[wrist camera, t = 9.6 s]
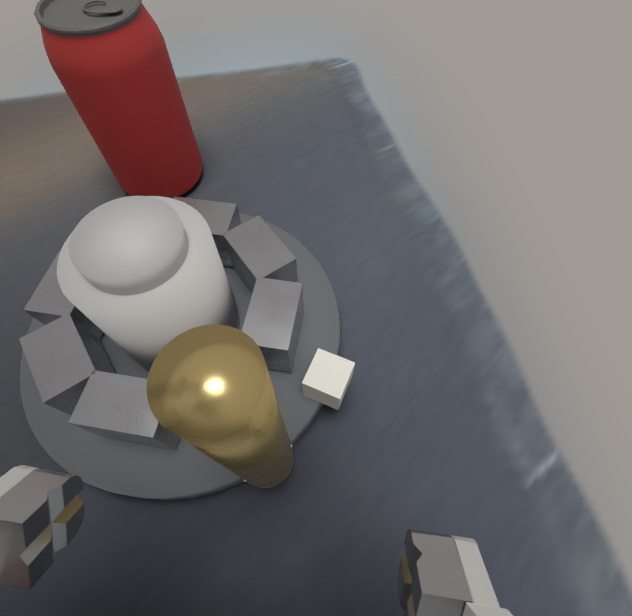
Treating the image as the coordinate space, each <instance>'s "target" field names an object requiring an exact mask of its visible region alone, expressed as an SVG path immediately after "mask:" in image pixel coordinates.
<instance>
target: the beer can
mask: <svg viewBox="0 0 632 616" xmlns="http://www.w3.org/2000/svg"><path fill="white" fill-rule="evenodd" d="M141 1H142V0H40V1H39V2H38V3H37V6H36V9H35V13H34V15H35V17H36V19H37V21H38V23H39V24H40V25H41V32H42V37H43V43H44V47H45V50H46V53H47V56H48V58H49V61H50V63H51V65H52V67H53V69H54V71H55V73H56V75H57V76H58V78H59V80H60V82H61V83H62V85H63V87H64V89H65V90H66V92H67V94H68V96H69V97H70V99H71V101H72V102H73V104H74V106H75V108H76V109H77V111H78V113H79V115H80V116H81V118H82V120H83V122H84V123H85V125H86V127H87V129H88V130H89V132H90V134H91V136H92V137H93V139H94V141H95V142H96V144H97V146H98V148H99V149H100V151H101V153H102V155H103V156H104V158H105V160H106V162H107V163H108V165H109V167H110V169H111V170H112V172H113V174H114V176H115V177H116V179H117V181H118V183H119V184H120V186H121V188H122V189H123V190H124V191H125V192H126V193H128V194H129V195H130V196H161V197H168V198H172V199H174V197H179V196H182V195H183V194H185V193H186V192H188V191H189V190H190V189H192V187H193V186H194V185H195V184H196V183H197V181H198V180H199V178H200V175H201V172H202V169H203V168H202V159H201V156H200V153H199V150H198V147H197V143H196V140H195V137H194V134H193V131H192V127H191V124H190V121H189V118H188V115H187V112H186V108H185V105H184V102H183V99H182V96H181V92H180V89H179V86H178V83H177V80H176V76H175V74H174V70H173V67H172V64H171V61H170V57H169V54H168V51H167V48H166V44H165V41H164V38H163V36H162V34H161V32H160V30H159V28H158V26H157V24H156V23H155V21H154V20H153V19H152V17H151V16H150V14H149V13H148V11H147V10H146V9H145V7H144V6H143V5H142V3H141Z"/></svg>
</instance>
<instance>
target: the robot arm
mask: <svg viewBox="0 0 632 616" xmlns="http://www.w3.org/2000/svg"><path fill="white" fill-rule="evenodd" d="M82 489H83V487H82V479H81V477H79V476H77V475H74V474H69V473H64V472H59V471H53V470H48V469H43V468H35V467H30V466H25V465H19V466H16V467H13V468H12V469H11V470H9V471H8V472H7V473H6V474H4V475H3V476H2V477H0V585H5V586H12V587H19V588H26V589H31V588H32V587H33V586H34V585H35V584H36V582H37V581H38V580H39V579H40V578H41V576H42V575H43V574H44V573H45V572H46V570H47V569H48V568H49V567H50V566H51V564H52V563H53V560H54V552H56V551H58V550H60V549H62V548H64V547H65V546H67V545H68V544H69V543H70V542H71V540H72V539H73V538H74V537H75V535H76V534H77V531H78V529H79V527H80V525H81V523H82V520H83V515H84V503H83V502H82V500H81V499H80V498H79V496H78V493H79V492H80V491H81V490H82ZM405 549H406V554H404V555H403V556H402V557H401V561H400V566H399V578H398V589H399V601H400V605H401V606H402V608H403V609H404V611H405V614H404V616H513V615H512V614H511V613H510V612H509V611H508V609H503V608H500V606H499V603H498V600H497V598H496V595H495V592H494V589H493V587H492V584H491V581H490V578H489V576H488V573H487V570H486V568H485V565H484V562H483V559H482V557H481V554H480V551H479V548H478V546H477V543H476V542H475V540H474V539H472V538H465V537H458V536H450V535H444V534H438V533H431V532H425V531H418V530H412V529H408V531H407V533H406V537H405Z"/></svg>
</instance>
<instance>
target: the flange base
mask: <svg viewBox="0 0 632 616" xmlns="http://www.w3.org/2000/svg"><path fill="white" fill-rule="evenodd" d="M239 215H240V220H241V224H243V223H245V222H247V221H249V220H250V219H252V218H254V217H253V216H249V215H245V214H241V213H239ZM265 223H266V224H267V225H268V226H269V227H270V228H271V230H272V231H273V232H274V233H275V234H276V235H277V237H278V238H279V239H280V240H281V241H282V243H283V244H284V245H285V246H286V247H287V248H288V250H289V251H290V252H291V253H292V254H293V255H294V257H295V258H296V263H297V276H298V283H303V300H304V314H303V319H302V324H301V329H300V334H299V339H298V343H297V348H296V353H295V358H294V363H293V368H292V372H285V371H279V370H273V369H268V372H269V375H270V379H271V382H272V385H273V388H274V391H275V395H276V398H277V401H278V404H279V408H280V411H281V414H282V417H283V420H284V424H285V427H286V430H287V433H288V436H289V440H290V443H291V446H292V447H293V446H294V445H295V444H296V443H297V442H298V440H299V439H300V438H301V437H302V436H303V434H304V433H305V432H306V431H307V430H308V428H309V427H310V426H311V424H312V422H313V421H314V419H315V418H316V416H317V415H318V413H319V411H320V410H321V408H322V406H323V404H325V405H327V406H329V407H332V408H334V409H336V410H338V409H339V407H340V405H341V402H342V400H343V397H344V395H345V392H346V390H347V387H348V385H349V383H350V380H351V378H352V374H353V370H354V366H355V363H354V362H352V361H349V360H347V359H344V358H342V357H339V356H338V349H339V341H340V320H339V313H338V305H337V302H336V298H335V295H334V291H333V288H332V286H331V284H330V282H329V279H328V277H327V275H326V273H325V271H324V270H323V268H322V267H321V265H320V264H319V262H318V261H317V259H316V258H315V257H314V256H313V255H312V254H311V252H310V251H309V250H308V249H307V248H306V247H305V246H304V245H303V244H301V243H300V242H299V241H298V240H297V239H296V238H295V237H293V236H292V235H290V234H289V233H287V232H286V231H284V230H283V229H281V228H279V227H277V226H275V225H273V224H271V223H269V222H267V221H265ZM57 278H58V283H59V286H60V288H61V290H62V292H63V293H64V295H65V296H66V298H67V299H68V300H69V301H70V302H71V303H72V304H73V305H74V306H76V307H77V308H78V309H79V310H80V311H81V312H82V313H83V314H84V315H85V316H87V317H88V318H89V319H90V320H91V321H92V322H93V323H94V324H95V325H96V326H97V327H99V328H100V329H101V330H102V331H103V334H102V336H101V338H100V342H101V344H102V347H103V349H104V351H105V353H106V355H107V357H108V359H109V361H110V363H111V365H112V367H113V369H114V371H115V373H116V374H120V375H126V376H133V377H139V378H145V379H148V374H149V371H150V368H151V366H152V364H153V362H154V360H155V358H156V357H157V355H158V354H159V352H160V351H161V350H162V349H163V348H164V347H165V346H166V345H167V344H168V343H169V342H170V341H171V340H172V339H173V338H175V337H176V336H178V335H179V334H181V333H183V332H185V331H187V330H189V329H192V328H195V327H198V326H202V325H210V324H219V325H226V326H231V327H234V328H236V329H239V330H241V331H242V328H243V325H244V321H245V318H246V314H247V311H248V307H249V304H250V300H251V297H252V293H253V292H252V291H251V290H250V288H249V287H248V286H247V284H246V283H245V282H244V280H243V279H242V278H241V276H240V275H239V274H238V272H237V271H236V270H235V268H234V267H231V266H224V265H223V264H222V262H221V259H220V256H219V253H218V250H217V248H216V245H215V242H214V239H213V237H212V234H211V231H210V228H209V226H208V224H207V222H206V220H205V219H204V218H203V216H202V215H201V214H200V213H199V212H198V211H197V210H196V209H194V208H193V207H191V206H190V205H188V204H186V203H184V202H182V201H179V200H176V199H172V198H168V197H161V196H128V197H122V198H118V199H115V200H112V201H109V202H107V203H105V204H102V205H101V206H99V207H97V208H95V209H94V210H92V211H91V212H90V213H88V214H87V215H86V216H85V217H84V218H83V219H82V220H81V221H80V222H79V224H78V225H77V226H76V228H75V229H74V231H73V232H72V233H71V234H70V236H69V237H68V238H67V240H66V242H65V243H64V245H63V247H62V249H61V252H60V254H59V258H58V262H57ZM43 326H44V325H43V324H42V323H41V322H39V321H38V320H37V319H35V318H33V320H32V323H31V325H30V327H29V330H28V333H27V334H29V333H31V332H33V331H35V330H37V329H39V328H41V327H43ZM20 391H21V398H22V404H23V408H24V411H25V414H26V417H27V420H28V423H29V426H30V427H31V429H32V431H33V433H34V435H35V437H36V438H37V440H38V442H39V443H40V445H41V446H42V447H43V448H44V450H45V451H46V452H47V453H48V454H49V456H50V457H51V458H52V459H53V460H54V461H55V462H56V463H58V464H59V465H60V466H61V467H62V468H64V469H65V470H66V471H67V472H68V473H70V474H74V475H77V476H79V477H81V479H82V481H84V482H85V483H87V484H89V485H92V486H95V487H97V488H100V489H103V490H105V491H108V492H112V493H117V494H122V495H127V496H132V497H138V498H144V499H154V500H180V499H190V498H197V497H201V496H205V495H209V494H214V493H218V492H220V491H223V490H225V489H228V488H231V487H233V486H236V485H238V484H241V483H243V482H244V479H243V478H241V477H240V476H238V475H236V474H235V473H233V472H232V471H230V470H229V469H227V468H226V467H224V466H223V465H221V464H220V463H218V462H216V461H215V460H213V459H212V458H210V457H209V456H207V455H206V454H204V453H203V452H201V451H200V450H198V449H196V448H195V447H193V446H192V445H190V444H189V443H187V442H186V441H184V440H183V439H181V438H179V441H178V444H177V447H176V450H173V449H167V448H162V447H156V446H151V445H145V444H140V443H134V442H128V441H123V440H117V439H112V438H106V437H101V436H99V435H97V434H94V433H92V432H89V431H87V430H85V429H82V428H80V427H77V426H75V425H73V424H70V423H68V422H69V420H70V418H71V415H69V414H67V413H64V412H62V411H60V410H58V409H56V408H53V407H51V406H49V405H47V404H44V403H43V402H42V399H41V396H40V394H39V391H38V388H37V386H36V383H35V380H34V378H33V375H32V372H31V370H30V367H29V364H28V361H27V359H26V356H25V353H24V351H22V357H21V363H20Z"/></svg>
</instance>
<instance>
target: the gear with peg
mask: <svg viewBox="0 0 632 616" xmlns="http://www.w3.org/2000/svg"><path fill="white" fill-rule="evenodd" d="M174 199H176V200H179V201H182V202H184V203H186V204H188V205H190V206H191V207H193V208H194V209H196V210H197V211H198V212H199V213H200V214H201V215H202V216H203V218H204V219H205V220H206V222H207V224H208V226H209V228H210V231H211V234H212V237H213V239H214V242H215V245H216V248H217V250H218V253H219V256H220V259H221V262H222V264H223V265H224V266H231V267H234V268H235V270H236V271H237V272H238V274H239V275H240V276H241V278H242V279H243V280H244V282H245V283H246V284H247V286H248V287H249V288H250V290H251V291H252V292H253V293H252V297H251V300H250V304H249V307H248V311H247V314H246V318H245V321H244V325H243V328H242V331H241V330H239V329H236V328H234V327H231V326H226V325H219V324H210V325H202V326H198V327H195V328H192V329H189V330H187V331H185V332H183V333H181V334H179V335H178V336H176V337H175V338H173V339H172V340H171V341H170V342H169V343H168V344H167V345H166V346H165V347H164V348H163V349H162V350H161V351H160V352H159V354H158V355H157V357H156V358H155V360H154V362H153V364H152V366H151V368H150V371H149V374H148V379H145V378H139V377H133V376H126V375H120V374H116V373H115V371H114V369H113V367H112V365H111V363H110V361H109V359H108V357H107V355H106V353H105V351H104V349H103V347H102V344H101V342H100V338H101V336H102V334H103V331H102V330H101V329H100V328H99V327H97V326H96V325H95V324H94V323H93V322H92V321H91V320H90V319H89V318H88V317H87V316H85V315H84V314H83V313H82V312H81V311H80V310H79V309H78V308H77V307H76V306H74V305H73V304H72V303H71V302H70V301H69V300H68V299H67V298H66V296H65V295H64V293H63V292H62V290H61V288H60V286H59V283H58V278H57V262H58V258H59V254H60V252H61V250H60V251H59V252H58V254H57V256H56V257H55V259H54V261H53V262H52V264H51V266H50V267H49V269H48V270H47V272H46V274H45V275H44V277H43V279H42V280H41V282H40V284H39V285H38V287H37V288H36V290H35V292H34V293H33V295H32V297H31V298H30V300H29V302H28V303H27V305H26V306H25V308H24V311H26V312H27V313H28V314H30V315H31V316H33V317H34V318H35V319H37V320H38V321H39V322H41V323H42V324H43V325H44V326H43V327H41V328H39V329H37V330H35V331H33V332H31V333H29V334H27V335H25V336H23V337H21V338H19V340H20V343H21V345H22V348H23V351H24V353H25V356H26V359H27V361H28V364H29V367H30V370H31V372H32V375H33V378H34V380H35V383H36V386H37V388H38V391H39V394H40V396H41V399H42V402H43V403H44V404H47V405H49V406H51V407H53V408H56V409H58V410H60V411H62V412H64V413H67V414H69V415H71V418H70V420H69V422H68V423H70V424H73V425H75V426H77V427H80V428H82V429H85V430H87V431H89V432H92V433H94V434H97V435H99V436H101V437H106V438H112V439H117V440H123V441H128V442H134V443H140V444H145V445H151V446H156V447H162V448H167V449H173V450H176V447H177V444H178V441H179V438H181V439H183V440H184V441H186V442H187V443H189V444H190V445H192V446H193V447H195V448H196V449H198V450H200V451H201V452H203V453H204V454H206V455H207V456H209V457H210V458H212V459H213V460H215V461H216V462H218V463H220V464H221V465H223V466H224V467H226V468H227V469H229V470H230V471H232V472H233V473H235V474H236V475H238V476H240V477H241V478H243V479H244V481H245V482H247V483H248V484H250V485H254V486H256V487H259V488H271V487H274V486H277V485H279V484H280V483H282V482H283V481H284V480H285V479H286V478H287V476H288V475H289V473H290V471H291V469H292V466H293V461H294V451H293V448H292V446H291V443H290V440H289V436H288V433H287V430H286V427H285V424H284V420H283V417H282V414H281V411H280V408H279V404H278V401H277V398H276V395H275V391H274V388H273V385H272V382H271V379H270V375H269V372H268V369H273V370H279V371H285V372H292V368H293V363H294V358H295V353H296V348H297V343H298V339H299V334H300V329H301V324H302V319H303V314H304V300H303V283H298V276H297V263H296V258H295V257H294V255H293V254H292V253H291V252H290V251H289V250H288V248H287V247H286V246H285V245H284V244H283V243H282V241H281V240H280V239H279V238H278V237H277V235H276V234H275V233H274V232H273V231H272V230H271V228H270V227H269V226H268V225H267V224H266V223H265V221H264V220H263V219H262V218H261V217H260V216H259V215H258V216H256V217H254V218H252V219H250V220H249V221H247V222H245V223H243V224H241V220H240V215H239V211H238V207H237V204H232V203H224V202H216V201H208V200H200V199H192V198H183V197H174Z"/></svg>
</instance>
